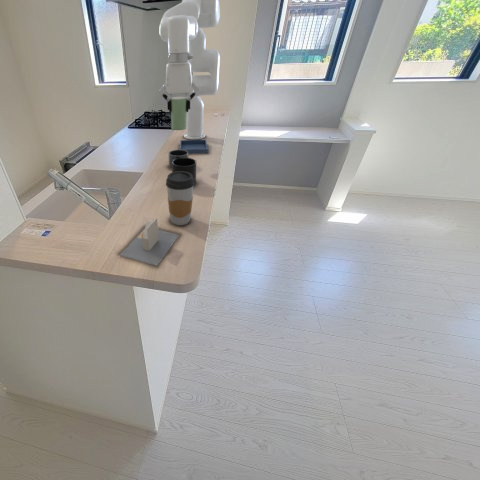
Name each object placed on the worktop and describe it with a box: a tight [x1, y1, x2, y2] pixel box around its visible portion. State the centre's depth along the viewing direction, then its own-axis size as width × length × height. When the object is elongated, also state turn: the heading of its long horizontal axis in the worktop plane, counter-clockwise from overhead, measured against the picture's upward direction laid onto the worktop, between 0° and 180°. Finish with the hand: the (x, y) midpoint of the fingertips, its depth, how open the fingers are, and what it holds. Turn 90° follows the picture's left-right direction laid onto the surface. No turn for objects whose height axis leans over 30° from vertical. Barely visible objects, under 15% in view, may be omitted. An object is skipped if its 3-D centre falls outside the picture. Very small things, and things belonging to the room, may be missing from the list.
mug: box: [171, 157, 197, 186], centre depth 106 cm, size 9×12×9 cm
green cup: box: [170, 96, 187, 131], centre depth 110 cm, size 6×6×12 cm
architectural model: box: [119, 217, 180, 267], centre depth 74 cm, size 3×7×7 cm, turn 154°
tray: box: [178, 139, 209, 155], centre depth 141 cm, size 16×14×2 cm
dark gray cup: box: [168, 149, 189, 170], centre depth 121 cm, size 9×9×6 cm
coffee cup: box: [165, 171, 195, 226], centre depth 81 cm, size 8×8×15 cm
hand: (178, 111), depth 109 cm, fingers closed on green cup, 6 cm apart
